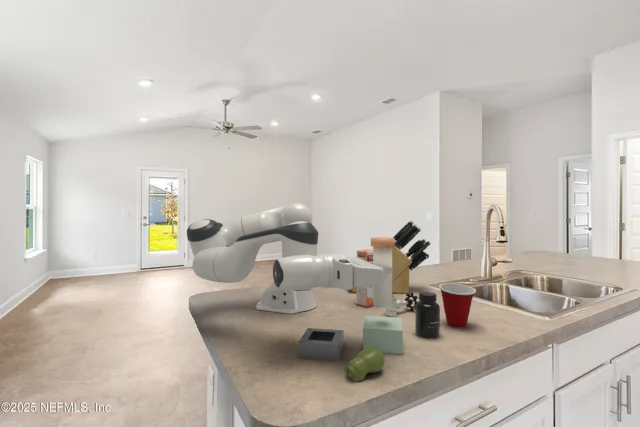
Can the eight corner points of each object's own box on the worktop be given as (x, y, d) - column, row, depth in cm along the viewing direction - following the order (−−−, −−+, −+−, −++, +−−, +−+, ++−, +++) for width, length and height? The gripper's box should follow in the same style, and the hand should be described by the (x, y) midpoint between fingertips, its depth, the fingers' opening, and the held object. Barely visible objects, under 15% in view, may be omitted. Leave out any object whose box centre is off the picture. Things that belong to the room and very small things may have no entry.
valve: (392, 318, 114) (419, 313, 119) (392, 299, 114) (419, 294, 119) (380, 313, 120) (406, 308, 125) (380, 294, 120) (406, 290, 125)
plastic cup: (457, 333, 100) (457, 292, 100) (431, 321, 110) (431, 285, 110) (484, 327, 104) (484, 288, 104) (457, 317, 114) (457, 281, 114)
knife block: (431, 294, 144) (431, 221, 143) (348, 293, 147) (347, 221, 146) (425, 287, 155) (425, 220, 155) (348, 287, 158) (347, 220, 157)
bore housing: (298, 358, 85) (298, 342, 85) (308, 342, 95) (307, 327, 94) (338, 361, 83) (338, 345, 83) (343, 344, 92) (343, 330, 92)
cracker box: (367, 308, 125) (367, 251, 125) (355, 304, 130) (355, 250, 130) (391, 300, 135) (391, 248, 134) (379, 297, 139) (378, 246, 139)
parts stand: (363, 351, 88) (363, 328, 88) (366, 336, 98) (365, 315, 98) (402, 354, 86) (402, 330, 86) (401, 339, 96) (401, 317, 96)
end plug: (370, 307, 89) (369, 239, 89) (371, 301, 96) (371, 237, 95) (395, 309, 88) (394, 239, 88) (394, 302, 94) (394, 237, 94)
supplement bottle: (436, 340, 95) (436, 297, 95) (412, 335, 98) (412, 294, 98) (442, 332, 101) (442, 292, 100) (419, 328, 104) (418, 289, 104)
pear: (388, 348, 77) (354, 367, 71) (391, 370, 77) (357, 391, 72) (371, 340, 81) (338, 357, 76) (374, 360, 82) (341, 379, 77)
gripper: (326, 274, 99) (371, 272, 102) (348, 291, 79) (403, 288, 82) (326, 253, 99) (371, 251, 102) (348, 264, 79) (402, 262, 82)
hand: (385, 267), depth 92 cm, fingers closed on end plug, 5 cm apart
